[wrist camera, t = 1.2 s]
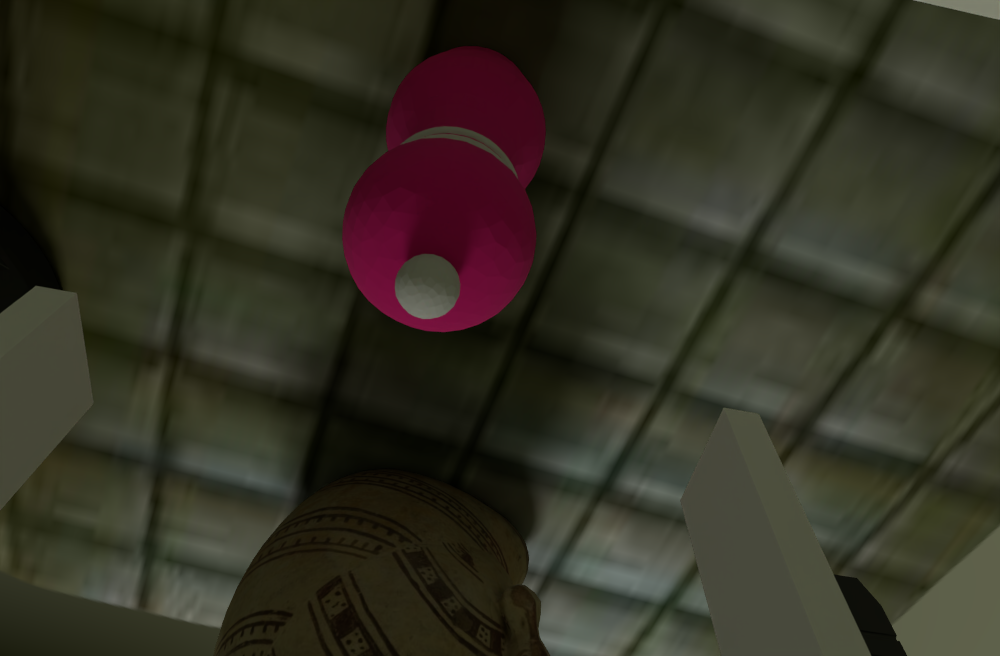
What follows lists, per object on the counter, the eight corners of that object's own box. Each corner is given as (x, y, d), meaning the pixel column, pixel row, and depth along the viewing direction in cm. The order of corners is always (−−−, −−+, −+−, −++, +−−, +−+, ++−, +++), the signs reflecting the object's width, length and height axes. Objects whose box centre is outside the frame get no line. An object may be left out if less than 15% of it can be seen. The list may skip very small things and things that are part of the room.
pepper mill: (439, 4, 32) (346, 111, 15) (570, 81, 34) (617, 253, 17) (379, 138, 36) (248, 346, 19) (501, 201, 37) (482, 446, 20)
